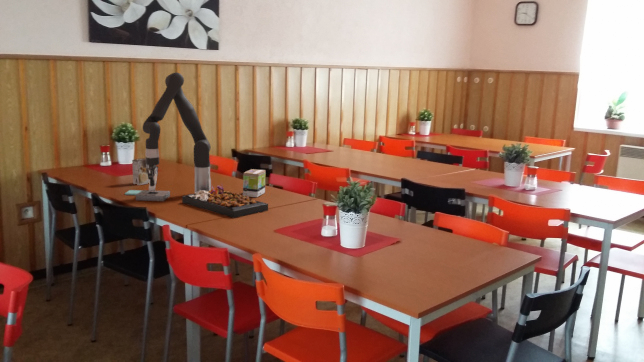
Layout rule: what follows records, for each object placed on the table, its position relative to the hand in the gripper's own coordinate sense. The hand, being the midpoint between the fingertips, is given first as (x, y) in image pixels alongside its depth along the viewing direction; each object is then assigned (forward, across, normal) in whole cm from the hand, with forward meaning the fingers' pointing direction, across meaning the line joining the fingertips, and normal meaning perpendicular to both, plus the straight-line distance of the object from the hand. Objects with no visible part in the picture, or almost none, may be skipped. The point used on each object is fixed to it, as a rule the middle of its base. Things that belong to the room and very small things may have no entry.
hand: (153, 185), depth 334 cm
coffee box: (+8, -40, -19) cm, 45 cm away
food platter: (+9, +15, +44) cm, 47 cm away
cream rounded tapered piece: (+3, 0, -1) cm, 3 cm away
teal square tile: (+8, -10, -14) cm, 19 cm away
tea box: (+9, -19, +57) cm, 60 cm away
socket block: (+8, 0, 0) cm, 8 cm away
